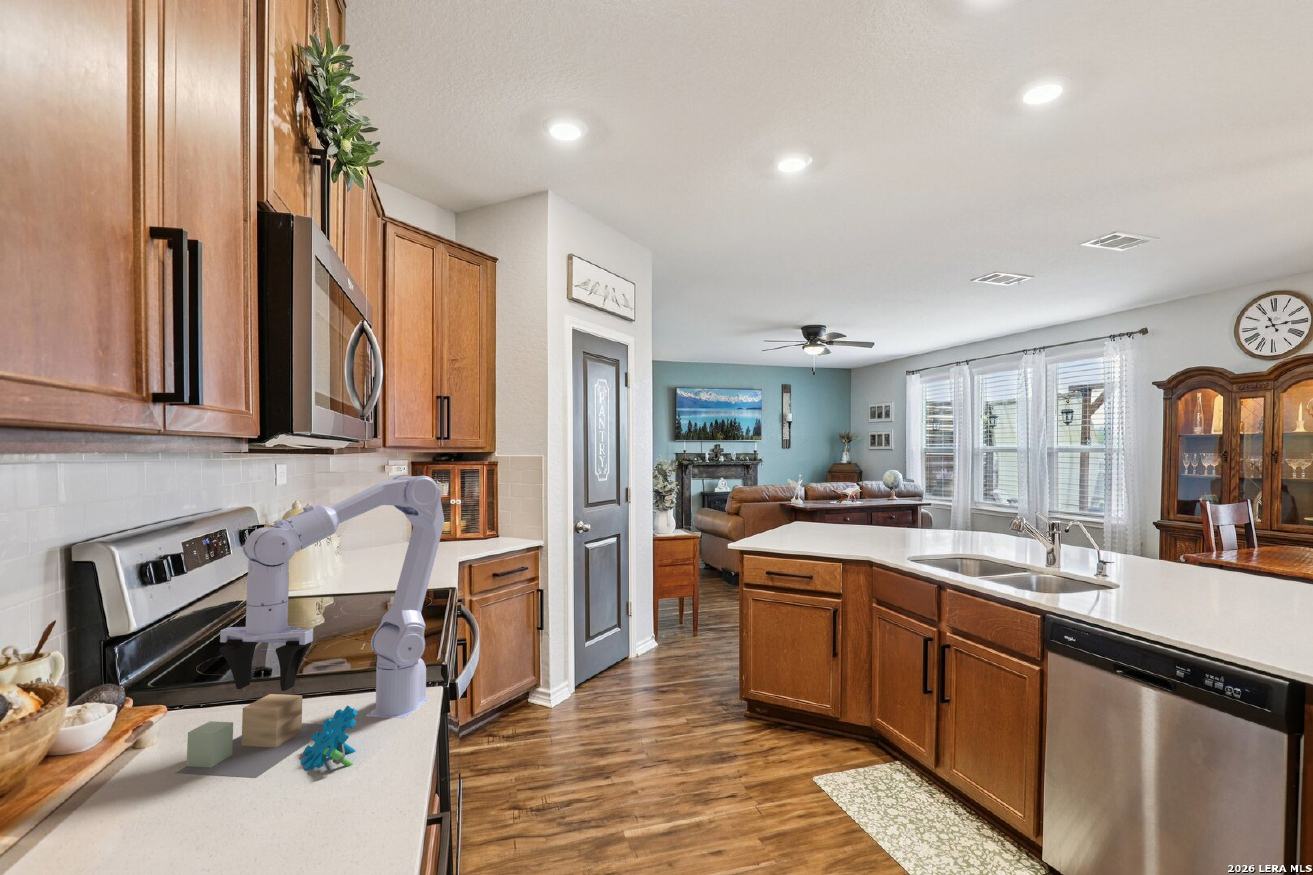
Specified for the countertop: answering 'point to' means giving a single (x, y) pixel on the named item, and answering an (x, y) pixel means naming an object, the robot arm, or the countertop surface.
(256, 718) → the top slab
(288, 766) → the countertop surface
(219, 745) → the green block
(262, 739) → the base slab
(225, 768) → the mat
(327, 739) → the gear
